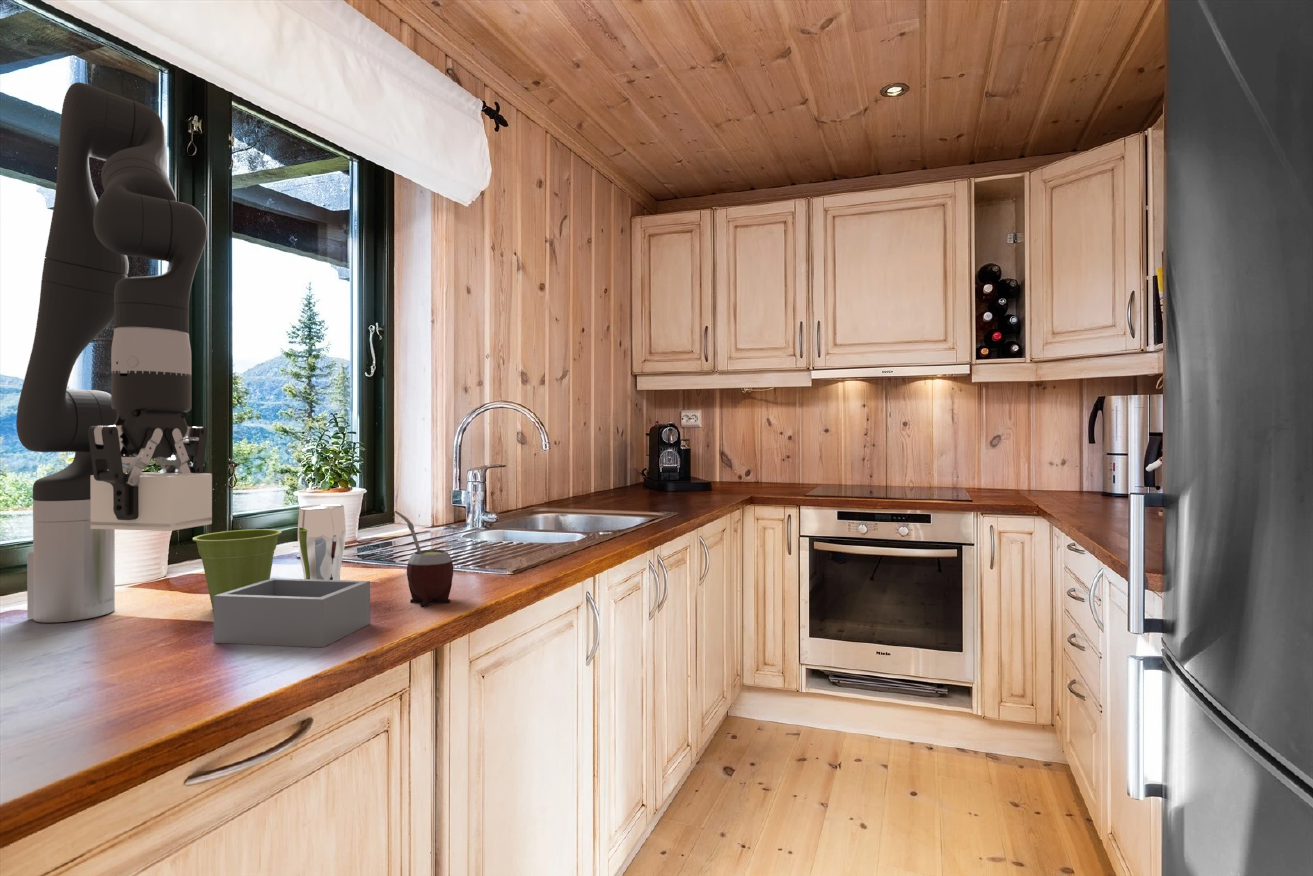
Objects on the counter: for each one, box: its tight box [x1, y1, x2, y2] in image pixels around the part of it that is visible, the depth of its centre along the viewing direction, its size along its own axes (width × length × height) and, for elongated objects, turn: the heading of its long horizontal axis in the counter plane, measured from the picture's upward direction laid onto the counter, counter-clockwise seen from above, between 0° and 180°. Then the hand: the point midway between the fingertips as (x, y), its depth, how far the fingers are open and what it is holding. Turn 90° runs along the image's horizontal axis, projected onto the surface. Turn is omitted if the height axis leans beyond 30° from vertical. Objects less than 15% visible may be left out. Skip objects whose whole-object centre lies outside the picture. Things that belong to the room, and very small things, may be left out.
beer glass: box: [297, 504, 347, 580], centre depth 112 cm, size 7×7×15 cm
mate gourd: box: [394, 510, 454, 608], centre depth 110 cm, size 8×8×15 cm
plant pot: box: [192, 528, 282, 611], centre depth 108 cm, size 12×12×11 cm
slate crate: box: [213, 577, 371, 648], centre depth 94 cm, size 11×15×6 cm
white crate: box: [91, 472, 213, 532], centre depth 81 cm, size 6×10×6 cm, turn 82°
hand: (152, 515), depth 81 cm, fingers closed on white crate, 6 cm apart
